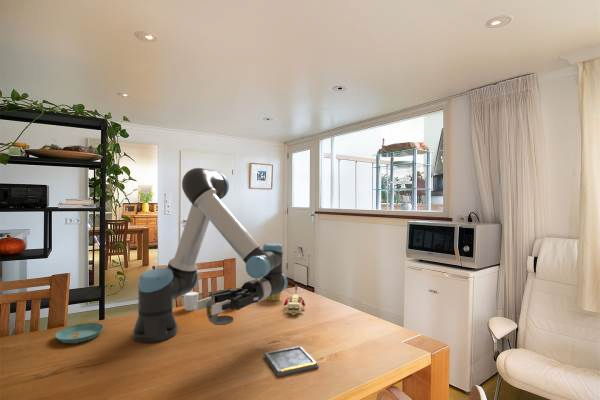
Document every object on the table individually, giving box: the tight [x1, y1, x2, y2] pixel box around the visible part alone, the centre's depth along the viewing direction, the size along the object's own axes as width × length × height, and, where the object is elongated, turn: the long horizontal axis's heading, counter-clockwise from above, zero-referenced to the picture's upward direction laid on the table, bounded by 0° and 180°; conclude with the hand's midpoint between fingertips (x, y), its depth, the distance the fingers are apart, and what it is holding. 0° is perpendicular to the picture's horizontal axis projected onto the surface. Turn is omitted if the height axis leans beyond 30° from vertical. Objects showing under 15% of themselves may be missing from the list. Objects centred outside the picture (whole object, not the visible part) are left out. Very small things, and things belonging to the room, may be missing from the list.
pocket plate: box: [263, 345, 319, 378], centre depth 102 cm, size 13×13×1 cm
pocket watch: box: [205, 292, 234, 326], centre depth 101 cm, size 8×8×10 cm
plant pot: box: [266, 292, 282, 302], centre depth 166 cm, size 10×10×10 cm
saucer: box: [54, 322, 105, 344], centre depth 118 cm, size 15×15×3 cm
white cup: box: [182, 291, 200, 312], centre depth 150 cm, size 7×7×7 cm
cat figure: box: [283, 284, 306, 316], centre depth 154 cm, size 10×9×25 cm
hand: (204, 307), depth 97 cm, fingers closed on pocket watch, 6 cm apart
